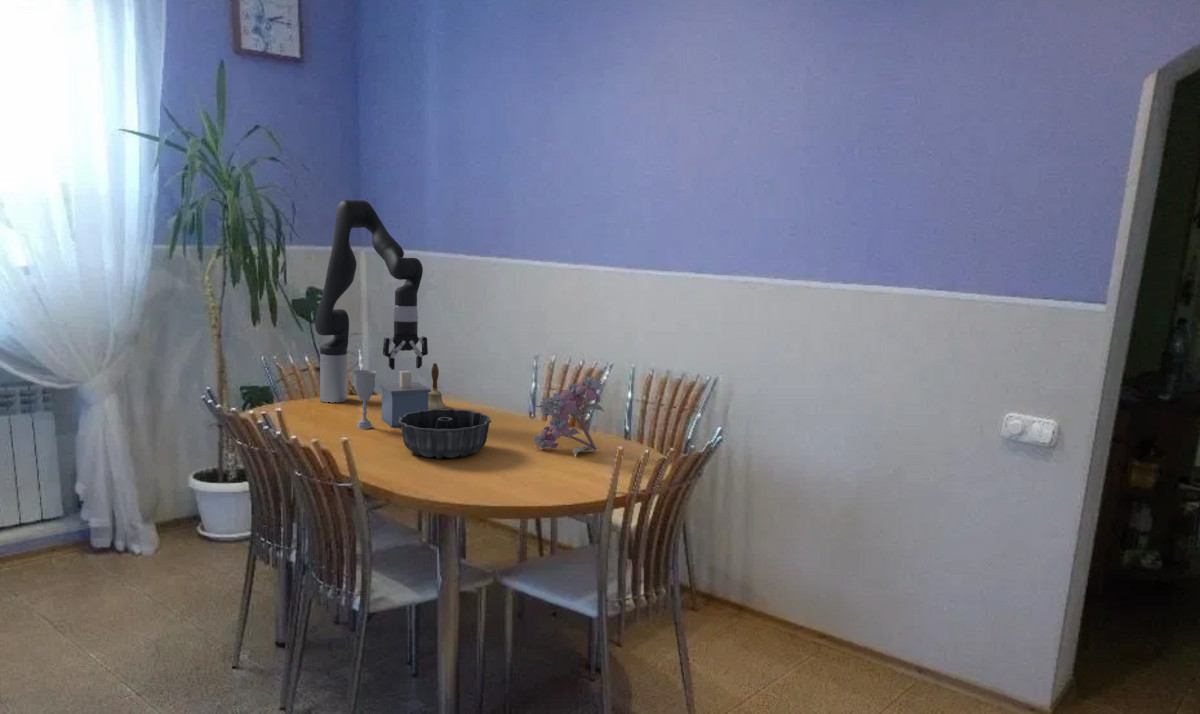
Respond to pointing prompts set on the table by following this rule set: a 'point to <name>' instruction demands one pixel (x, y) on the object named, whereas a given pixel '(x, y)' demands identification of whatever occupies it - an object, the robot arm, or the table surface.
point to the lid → (405, 385)
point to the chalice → (364, 392)
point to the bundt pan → (444, 432)
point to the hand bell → (435, 391)
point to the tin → (402, 405)
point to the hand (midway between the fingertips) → (405, 368)
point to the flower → (567, 404)
